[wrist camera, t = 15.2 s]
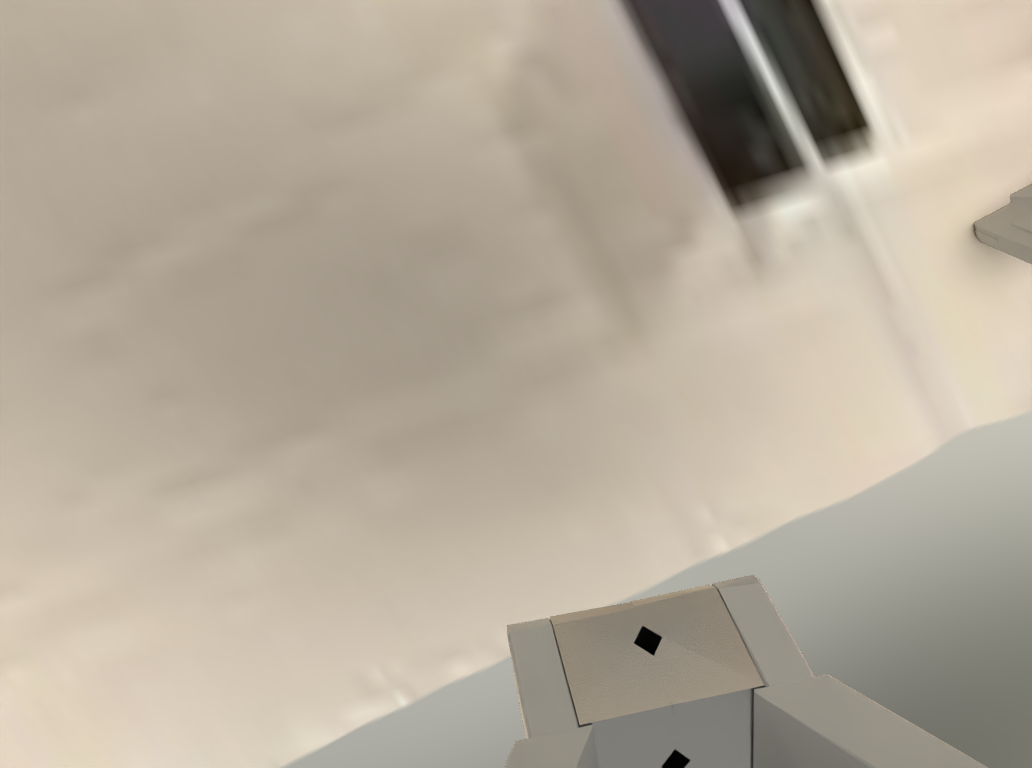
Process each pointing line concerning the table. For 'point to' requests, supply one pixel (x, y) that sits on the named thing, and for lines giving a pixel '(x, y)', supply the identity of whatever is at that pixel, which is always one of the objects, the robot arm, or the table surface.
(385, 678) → the table surface
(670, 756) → the robot arm
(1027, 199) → the cassette
